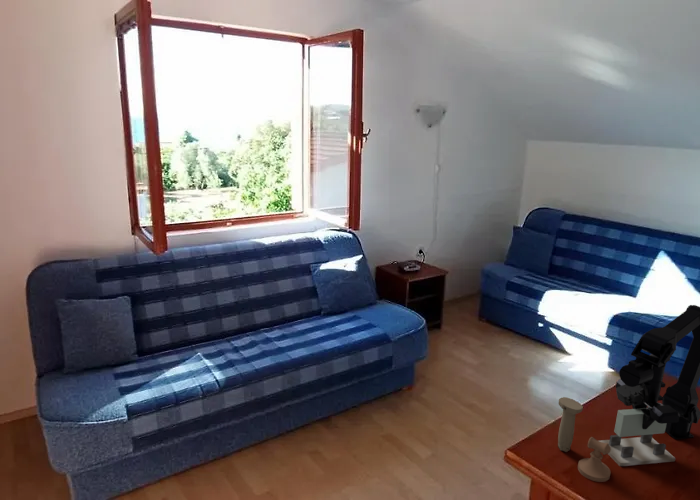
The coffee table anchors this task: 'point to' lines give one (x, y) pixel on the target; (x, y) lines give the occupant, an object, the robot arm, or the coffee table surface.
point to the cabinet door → (635, 424)
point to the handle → (567, 422)
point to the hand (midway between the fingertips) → (640, 425)
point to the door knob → (595, 462)
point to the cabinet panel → (637, 450)
